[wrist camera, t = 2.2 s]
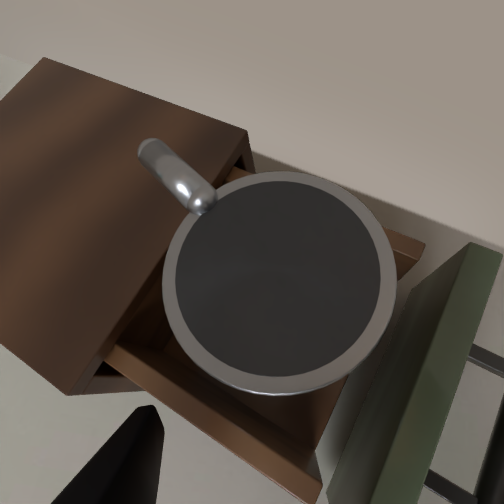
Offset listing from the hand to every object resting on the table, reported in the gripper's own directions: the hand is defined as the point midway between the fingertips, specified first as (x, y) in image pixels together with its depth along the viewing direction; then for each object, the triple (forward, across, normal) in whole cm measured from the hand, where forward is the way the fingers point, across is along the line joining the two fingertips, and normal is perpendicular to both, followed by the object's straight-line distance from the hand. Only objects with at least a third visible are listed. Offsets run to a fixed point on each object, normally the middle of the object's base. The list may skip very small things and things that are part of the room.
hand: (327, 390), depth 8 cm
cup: (+9, +2, +3) cm, 10 cm away
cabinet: (+15, +10, +1) cm, 18 cm away
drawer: (+8, -1, +6) cm, 10 cm away
